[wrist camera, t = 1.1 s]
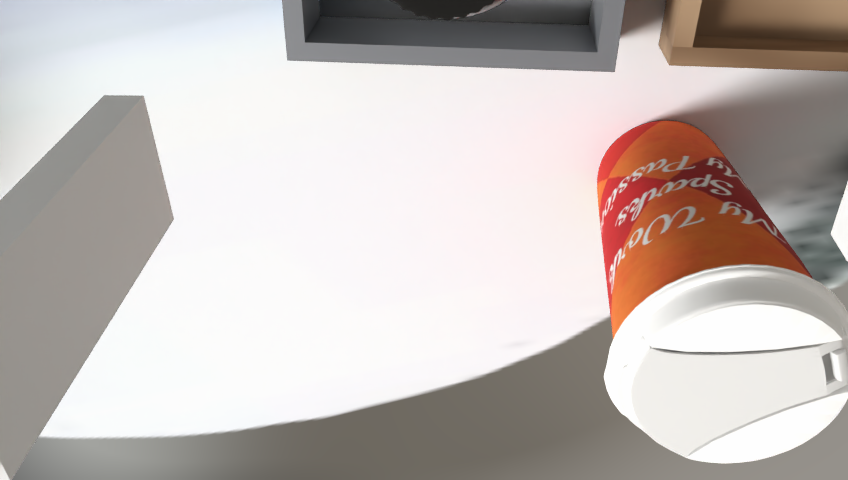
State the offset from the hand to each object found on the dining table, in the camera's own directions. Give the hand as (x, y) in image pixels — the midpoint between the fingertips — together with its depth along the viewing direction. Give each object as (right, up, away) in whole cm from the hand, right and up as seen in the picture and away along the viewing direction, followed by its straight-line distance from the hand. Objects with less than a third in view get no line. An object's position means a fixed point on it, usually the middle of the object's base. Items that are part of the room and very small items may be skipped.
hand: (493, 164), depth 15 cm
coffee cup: (+10, +2, +24) cm, 26 cm away
